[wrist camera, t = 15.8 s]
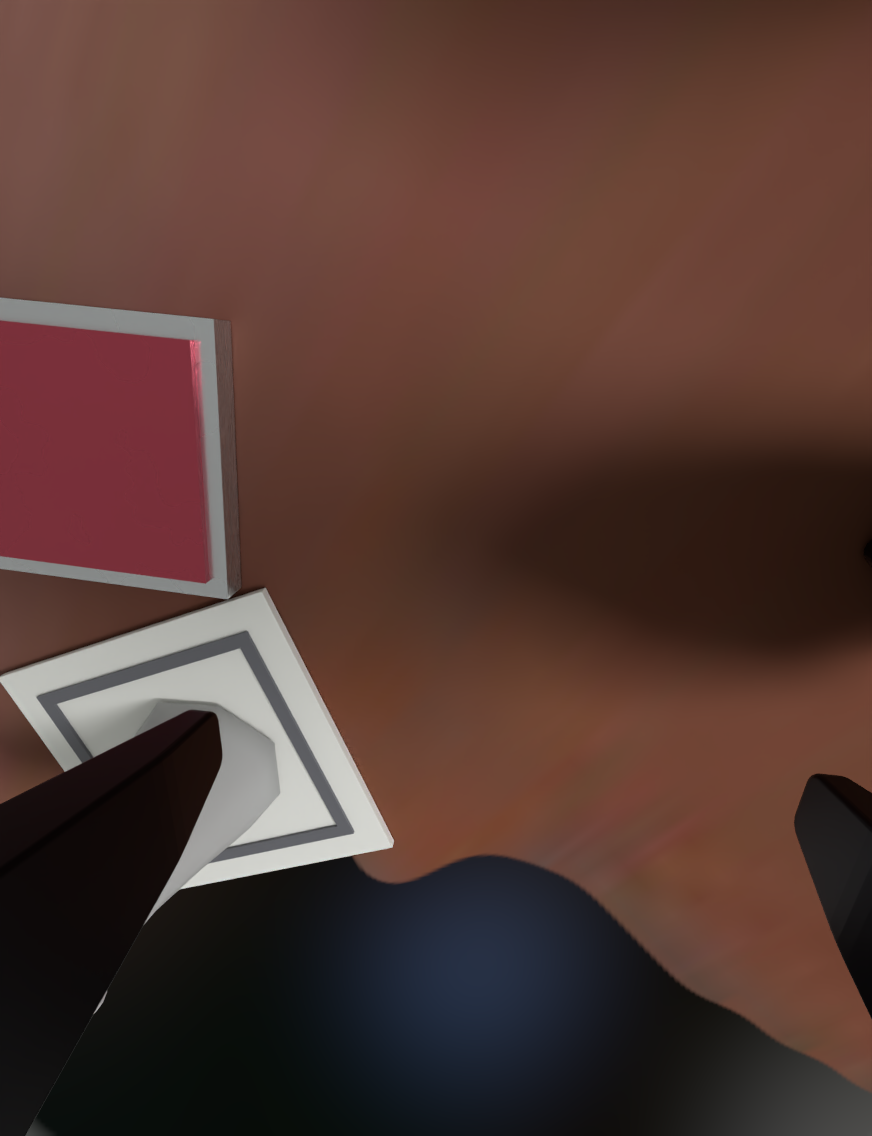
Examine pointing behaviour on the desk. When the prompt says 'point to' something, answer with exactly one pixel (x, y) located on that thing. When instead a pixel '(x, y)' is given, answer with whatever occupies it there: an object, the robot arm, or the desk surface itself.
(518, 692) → the desk surface
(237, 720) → the flask
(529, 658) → the desk surface
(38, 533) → the ink pad
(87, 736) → the marked board
